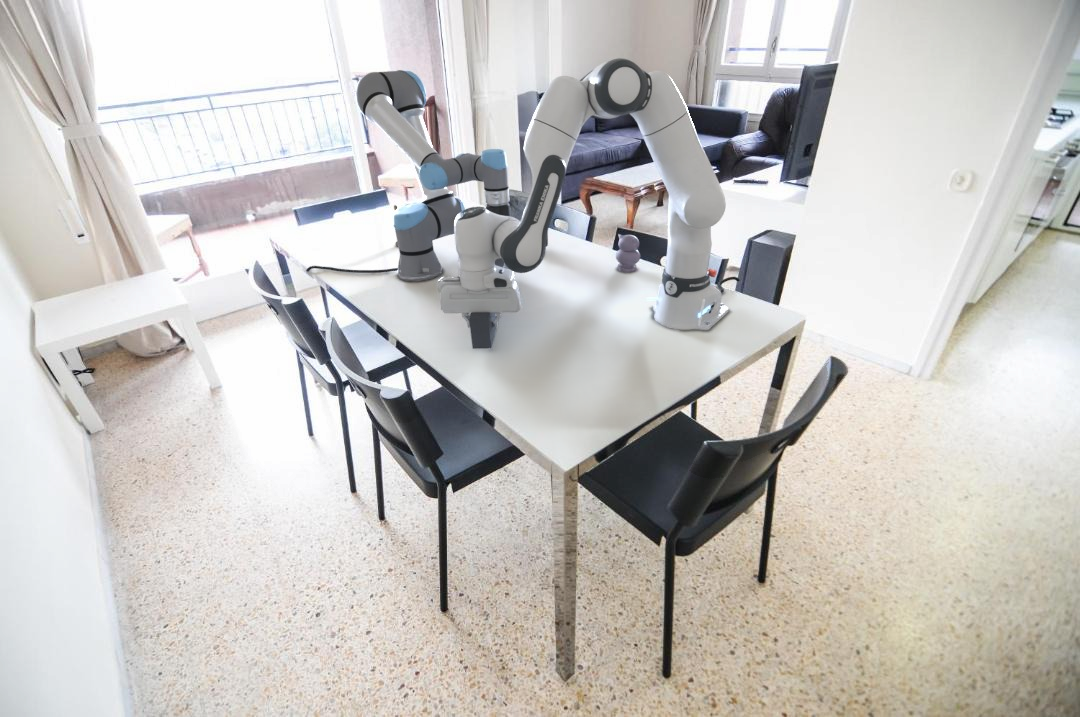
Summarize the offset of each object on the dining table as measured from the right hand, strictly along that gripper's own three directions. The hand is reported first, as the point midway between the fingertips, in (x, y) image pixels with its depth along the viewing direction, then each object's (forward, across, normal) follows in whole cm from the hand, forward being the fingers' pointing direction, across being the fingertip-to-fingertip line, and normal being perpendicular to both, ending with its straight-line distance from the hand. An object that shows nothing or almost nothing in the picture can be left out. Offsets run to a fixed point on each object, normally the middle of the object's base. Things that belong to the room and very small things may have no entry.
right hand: (483, 326), depth 128 cm
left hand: (+3, 0, +44) cm, 44 cm away
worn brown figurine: (+6, -44, +85) cm, 96 cm away
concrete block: (+6, +4, +77) cm, 78 cm away
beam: (+4, 0, +22) cm, 22 cm away
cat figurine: (+6, +42, +52) cm, 68 cm away
